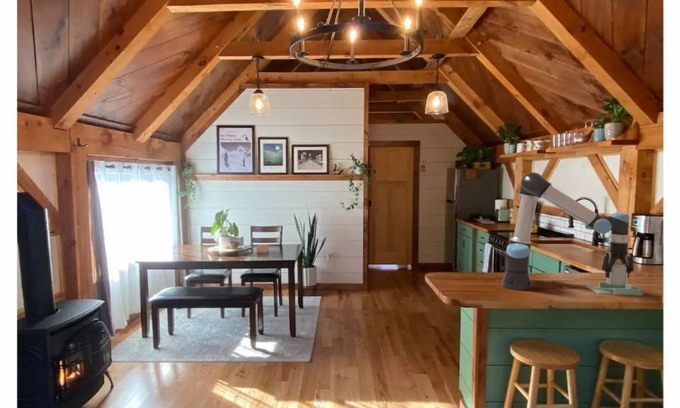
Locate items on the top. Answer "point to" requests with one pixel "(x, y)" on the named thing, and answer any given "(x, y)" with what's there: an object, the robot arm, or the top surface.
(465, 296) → the top surface
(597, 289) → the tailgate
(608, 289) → the green open box
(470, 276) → the top surface
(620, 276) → the can
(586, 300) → the top surface
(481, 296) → the top surface
